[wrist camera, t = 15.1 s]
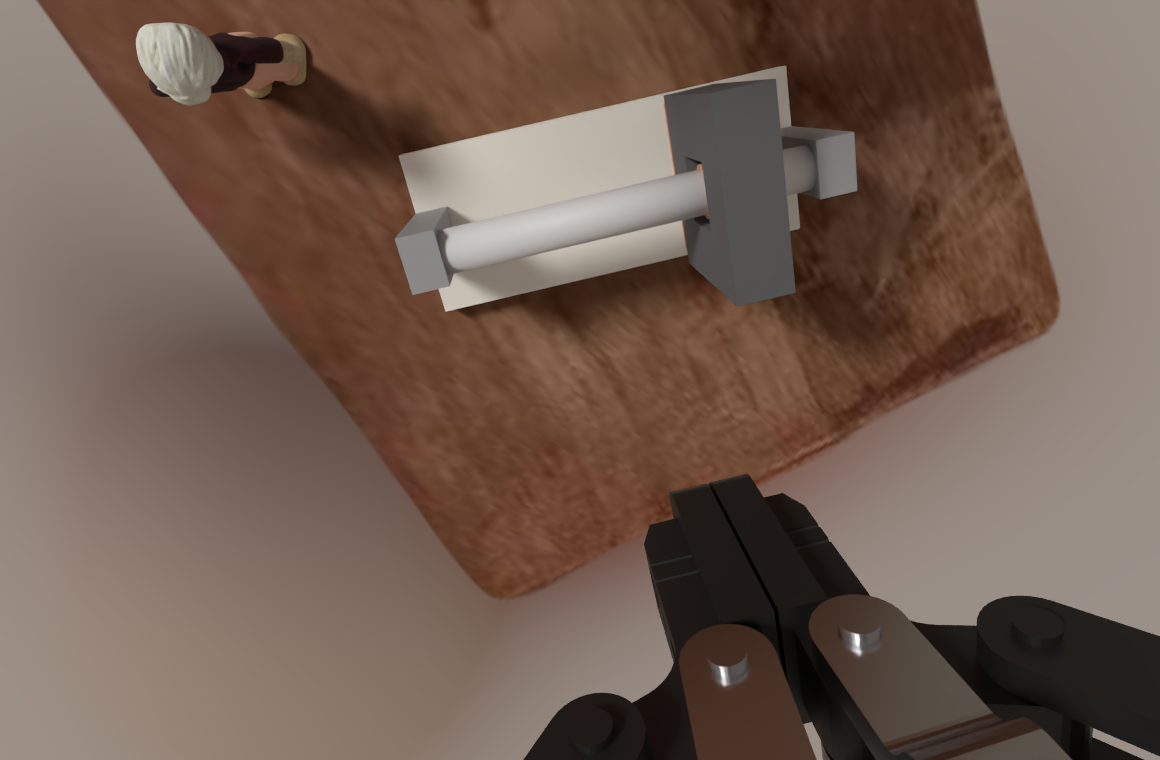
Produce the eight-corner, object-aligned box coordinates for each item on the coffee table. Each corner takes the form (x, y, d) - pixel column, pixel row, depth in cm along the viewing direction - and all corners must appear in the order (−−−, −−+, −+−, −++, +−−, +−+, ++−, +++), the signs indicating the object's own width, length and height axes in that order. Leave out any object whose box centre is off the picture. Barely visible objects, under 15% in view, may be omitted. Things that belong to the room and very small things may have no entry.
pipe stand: (401, 154, 43) (372, 168, 34) (777, 66, 43) (850, 57, 34) (447, 305, 47) (432, 355, 37) (791, 224, 47) (860, 255, 38)
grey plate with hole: (663, 95, 40) (709, 93, 30) (714, 83, 40) (776, 78, 30) (688, 262, 44) (737, 306, 34) (735, 252, 44) (795, 292, 34)
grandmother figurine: (299, 2, 39) (210, -39, 28) (337, 69, 41) (268, 56, 29) (185, 67, 40) (51, 53, 28) (227, 130, 41) (115, 142, 30)
